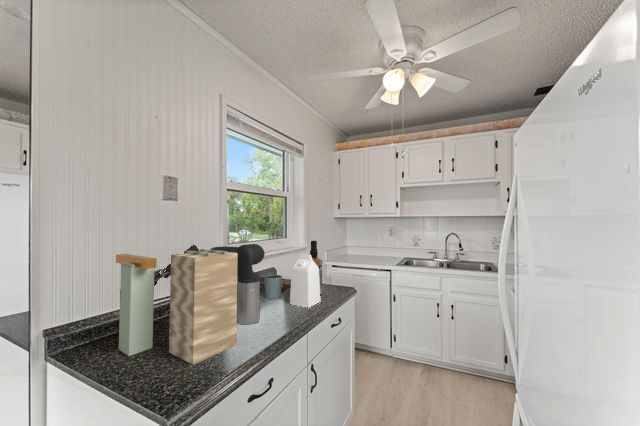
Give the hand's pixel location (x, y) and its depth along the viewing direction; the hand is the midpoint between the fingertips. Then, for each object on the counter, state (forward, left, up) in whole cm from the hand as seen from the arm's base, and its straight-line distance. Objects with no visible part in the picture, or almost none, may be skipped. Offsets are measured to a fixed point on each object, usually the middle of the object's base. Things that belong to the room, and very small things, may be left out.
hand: (160, 267), depth 107 cm
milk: (-59, -31, -25) cm, 71 cm away
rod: (+2, +14, +3) cm, 14 cm away
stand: (-22, +17, -25) cm, 38 cm away
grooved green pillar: (+1, +15, -25) cm, 29 cm away
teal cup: (-41, -45, -25) cm, 66 cm away
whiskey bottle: (-65, -50, -25) cm, 86 cm away
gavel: (-47, -60, -26) cm, 80 cm away
